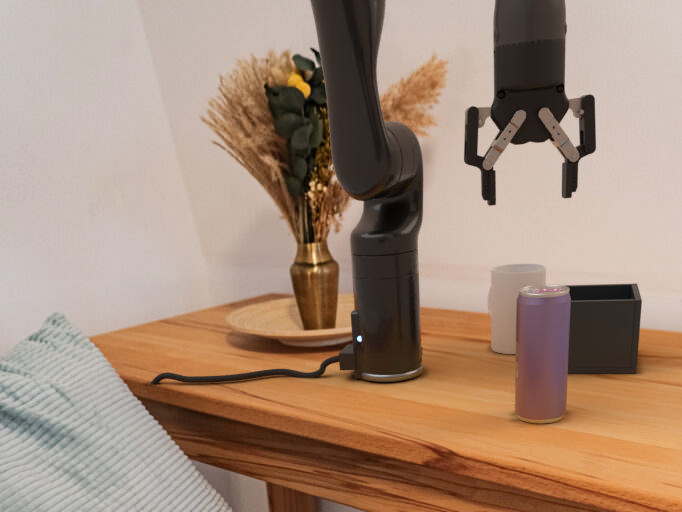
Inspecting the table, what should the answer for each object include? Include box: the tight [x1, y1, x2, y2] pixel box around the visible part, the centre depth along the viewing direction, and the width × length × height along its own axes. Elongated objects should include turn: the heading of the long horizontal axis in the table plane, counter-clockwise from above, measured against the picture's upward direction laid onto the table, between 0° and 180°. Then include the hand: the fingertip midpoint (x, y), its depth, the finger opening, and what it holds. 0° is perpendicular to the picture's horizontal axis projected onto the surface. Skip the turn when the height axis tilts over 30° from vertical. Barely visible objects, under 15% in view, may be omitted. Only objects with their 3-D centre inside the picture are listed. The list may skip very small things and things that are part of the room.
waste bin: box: [561, 283, 643, 375], centre depth 117 cm, size 12×12×10 cm
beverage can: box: [514, 284, 571, 425], centre depth 97 cm, size 6×6×15 cm
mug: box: [487, 263, 547, 355], centre depth 129 cm, size 8×12×12 cm
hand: (528, 201), depth 96 cm, fingers open, 8 cm apart
